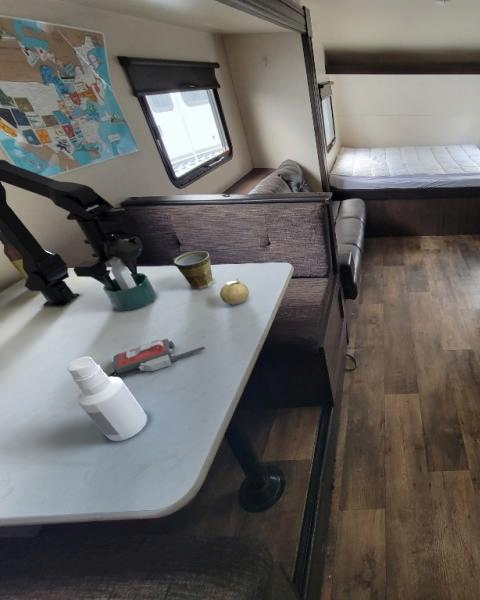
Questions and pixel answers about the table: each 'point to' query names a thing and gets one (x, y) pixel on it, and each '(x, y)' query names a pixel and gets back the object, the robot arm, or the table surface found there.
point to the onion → (234, 292)
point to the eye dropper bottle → (122, 274)
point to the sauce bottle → (13, 256)
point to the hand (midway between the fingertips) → (125, 281)
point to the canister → (132, 294)
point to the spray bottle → (107, 400)
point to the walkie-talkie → (147, 358)
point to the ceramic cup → (195, 268)
